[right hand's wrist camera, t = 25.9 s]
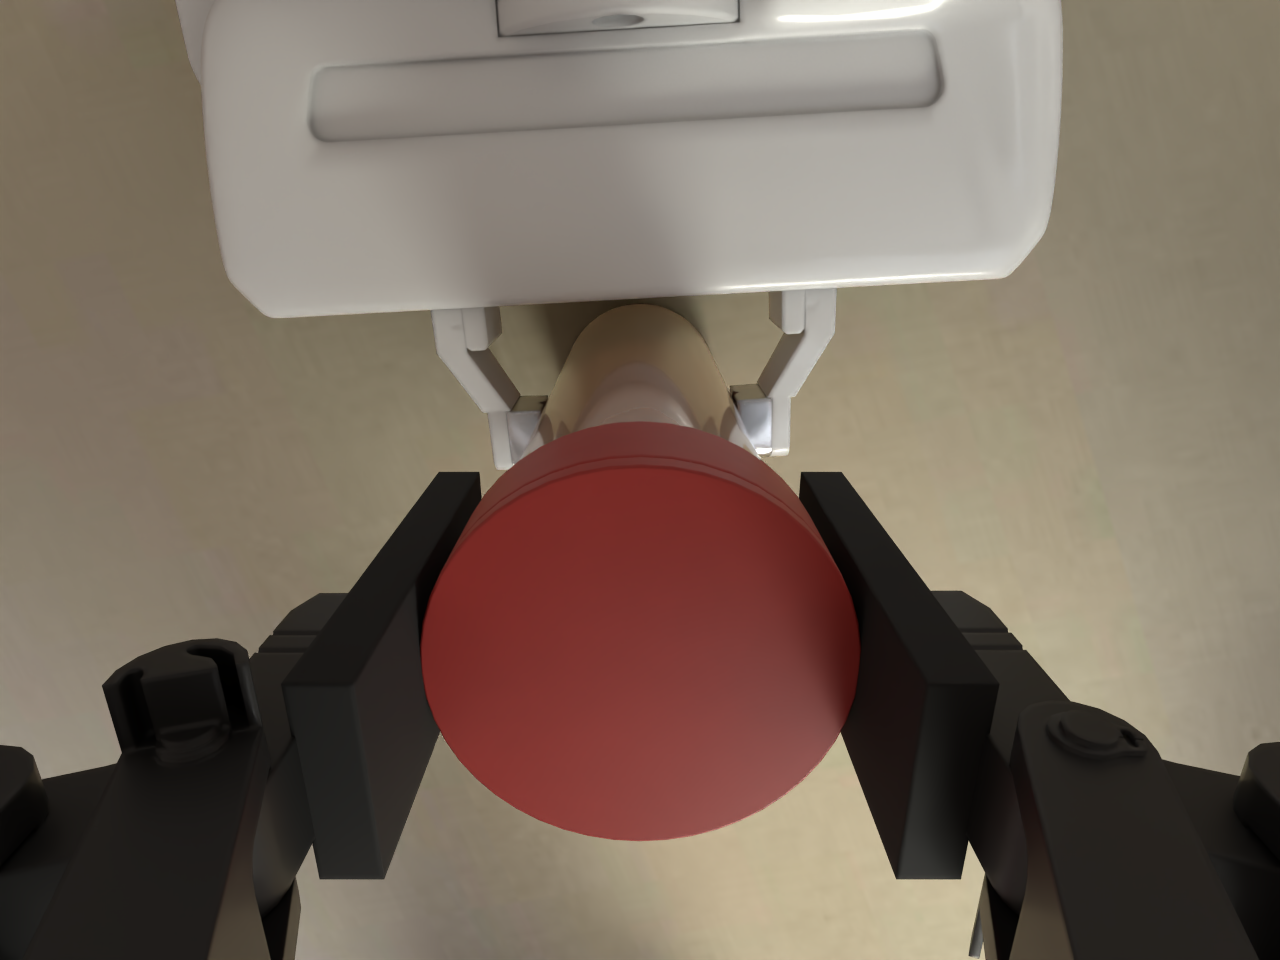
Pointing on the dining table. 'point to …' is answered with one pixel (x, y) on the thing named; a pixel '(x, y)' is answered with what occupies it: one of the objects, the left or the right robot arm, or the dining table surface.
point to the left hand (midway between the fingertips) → (643, 457)
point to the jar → (640, 379)
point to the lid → (640, 635)
